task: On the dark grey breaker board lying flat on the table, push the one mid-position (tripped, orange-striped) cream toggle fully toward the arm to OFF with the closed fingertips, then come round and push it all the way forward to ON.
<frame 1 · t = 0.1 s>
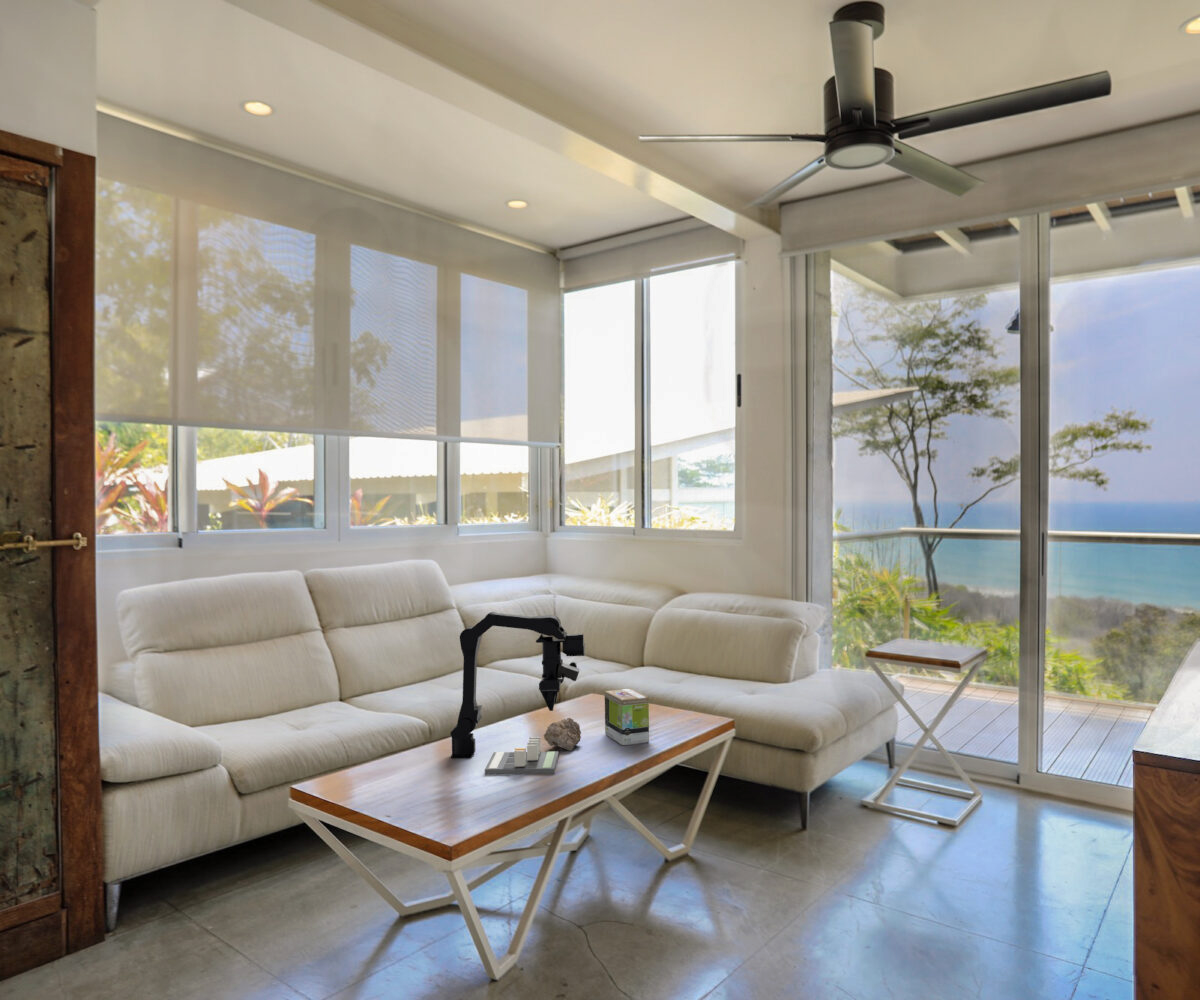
hand: (552, 706, 254), 15 cm above the table, fingers open, 9 cm apart
breaker tripped: (520, 756, 238), point 4 cm above the table, slide at 0.0 cm
coral: (564, 747, 261), on the table
breaker panel: (522, 765, 244), on the table
tea box: (626, 738, 269), on the table
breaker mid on: (532, 750, 244), point 4 cm above the table, slide at 3.0 cm
breaker back on: (534, 745, 249), point 4 cm above the table, slide at 3.0 cm
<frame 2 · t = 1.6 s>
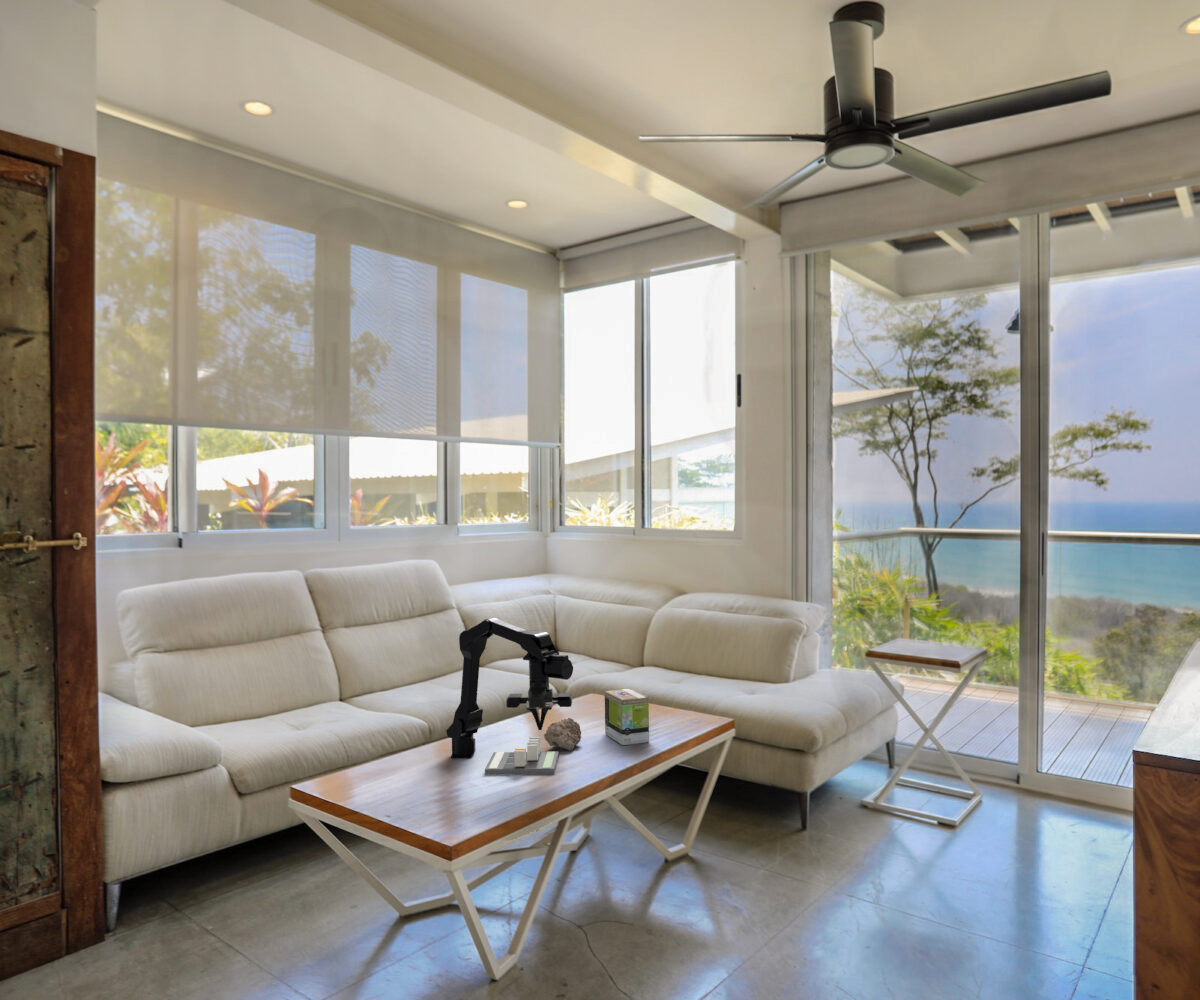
hand: (540, 729, 238), 12 cm above the table, fingers closed
nothing on the table moved.
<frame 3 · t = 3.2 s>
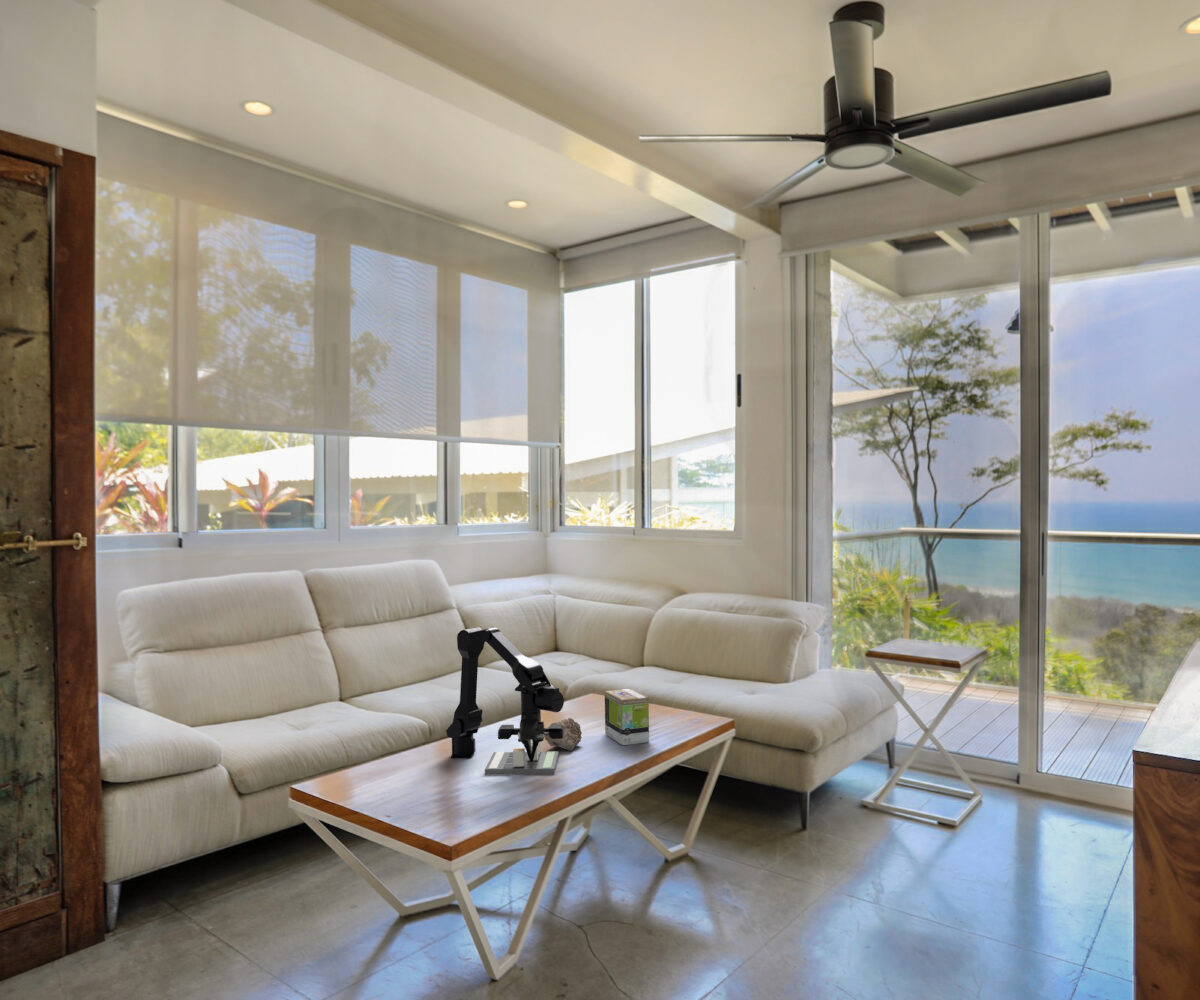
hand: (531, 761, 238), 3 cm above the table, fingers closed
breaker tripped: (519, 756, 238), point 4 cm above the table, slide at -0.4 cm, touching gripper
everything else where it was.
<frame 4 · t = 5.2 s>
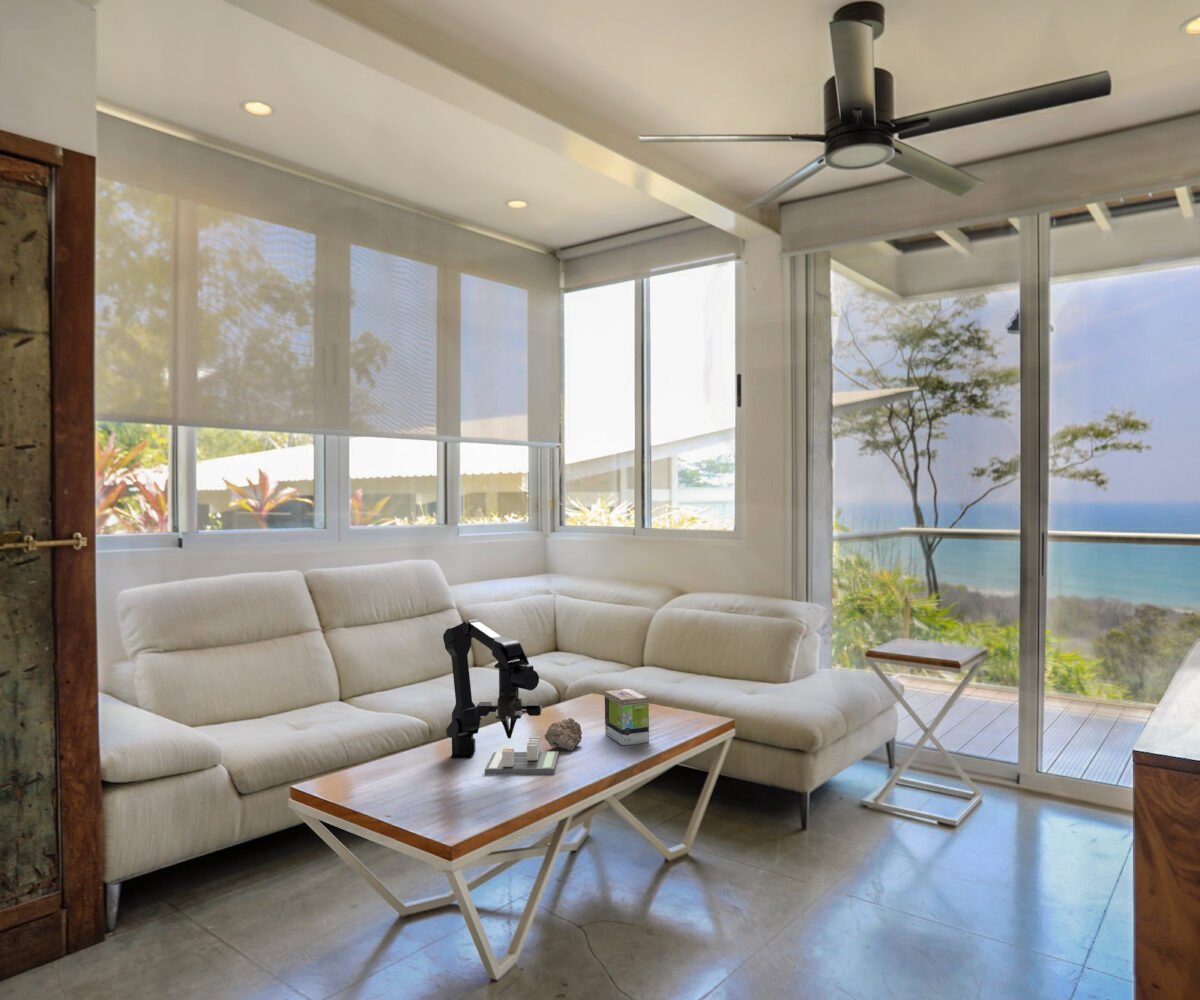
hand: (509, 738, 239), 10 cm above the table, fingers closed
breaker tripped: (508, 757, 239), point 4 cm above the table, slide at -3.5 cm
everything else where it was.
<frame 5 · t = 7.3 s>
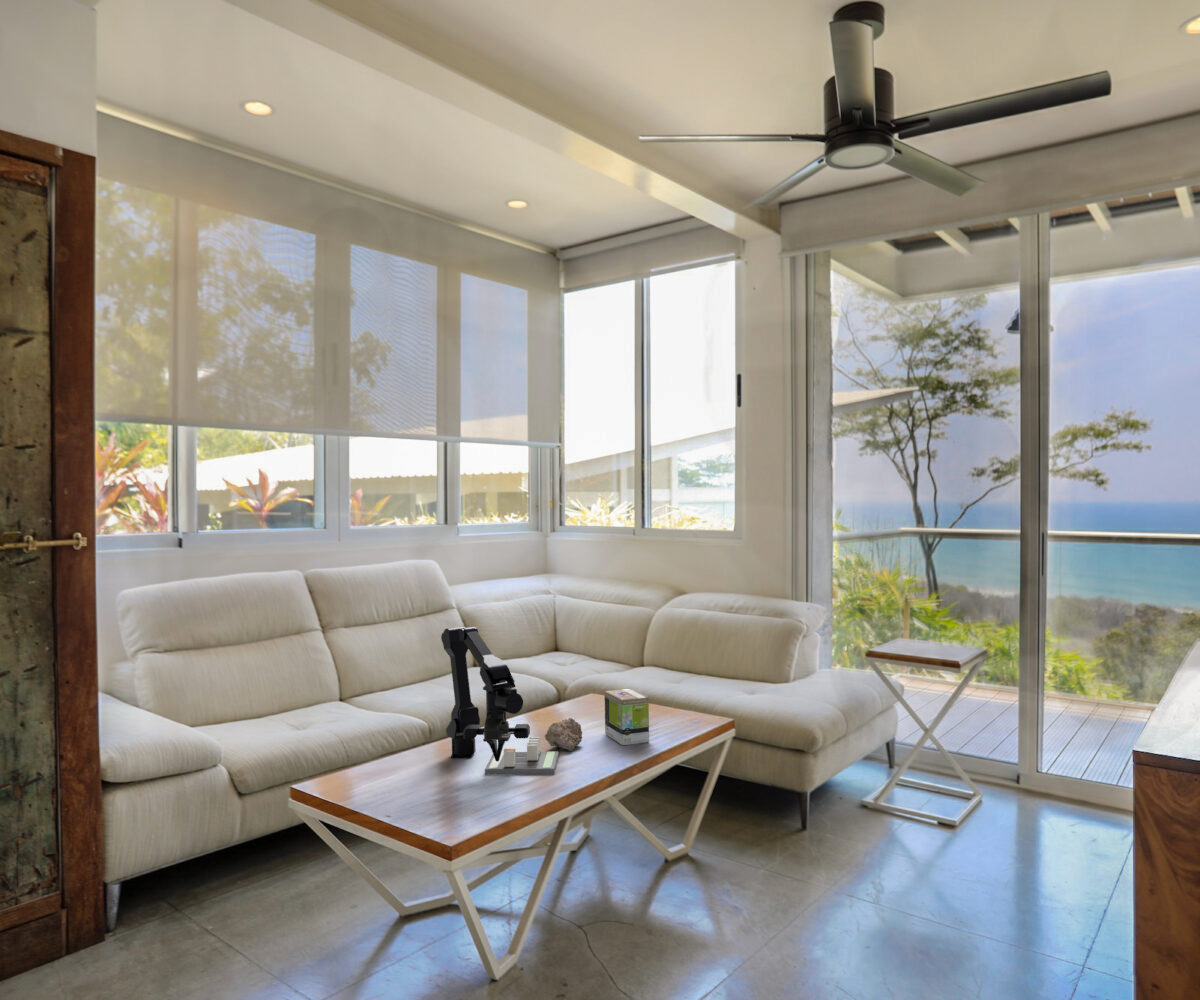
hand: (497, 761, 239), 3 cm above the table, fingers closed
breaker tripped: (509, 756, 239), point 4 cm above the table, slide at -3.1 cm, touching gripper
everything else where it was.
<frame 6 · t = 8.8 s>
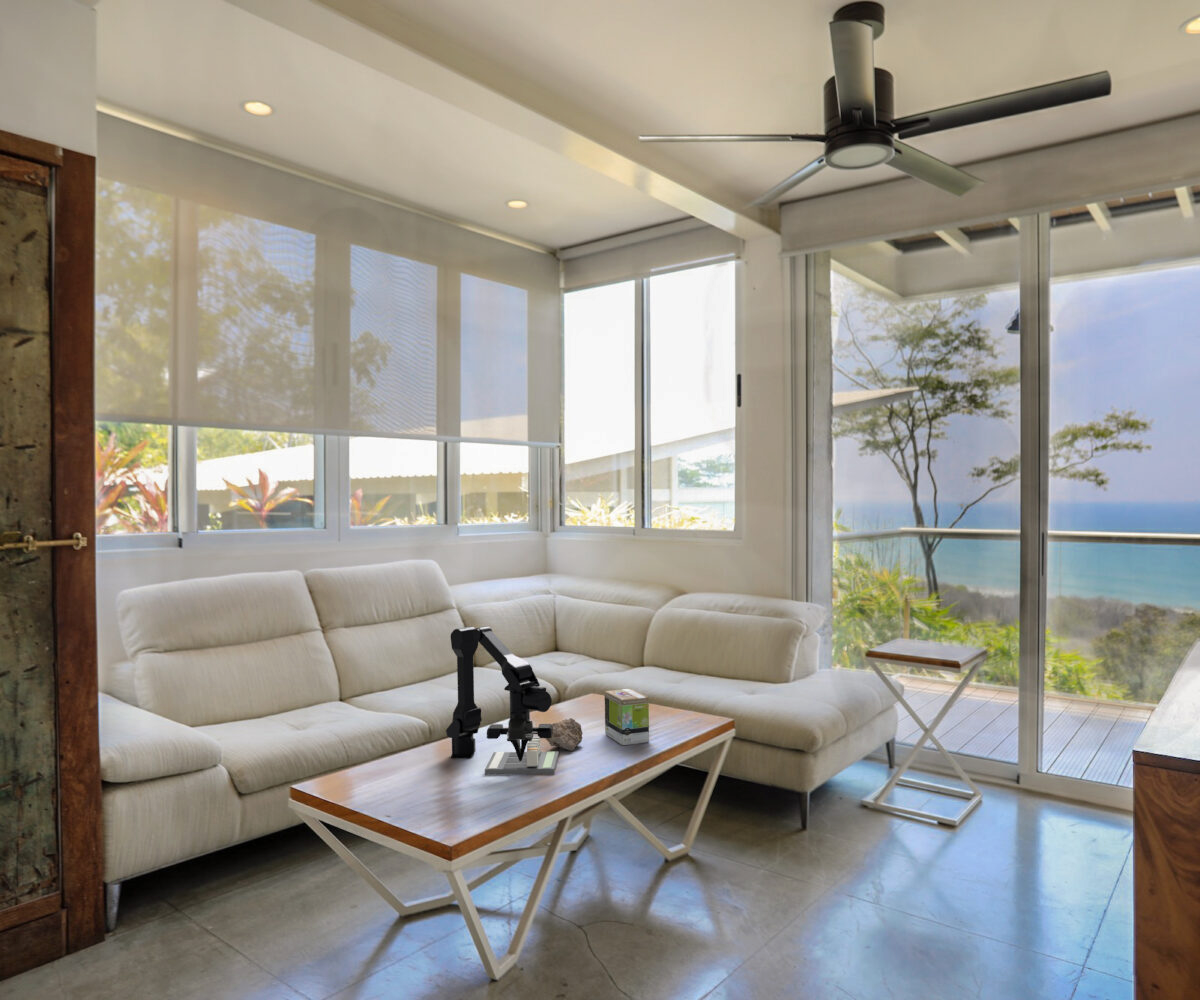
hand: (520, 760, 238), 3 cm above the table, fingers closed
breaker tripped: (532, 756, 238), point 4 cm above the table, slide at 3.6 cm, touching gripper
everything else where it was.
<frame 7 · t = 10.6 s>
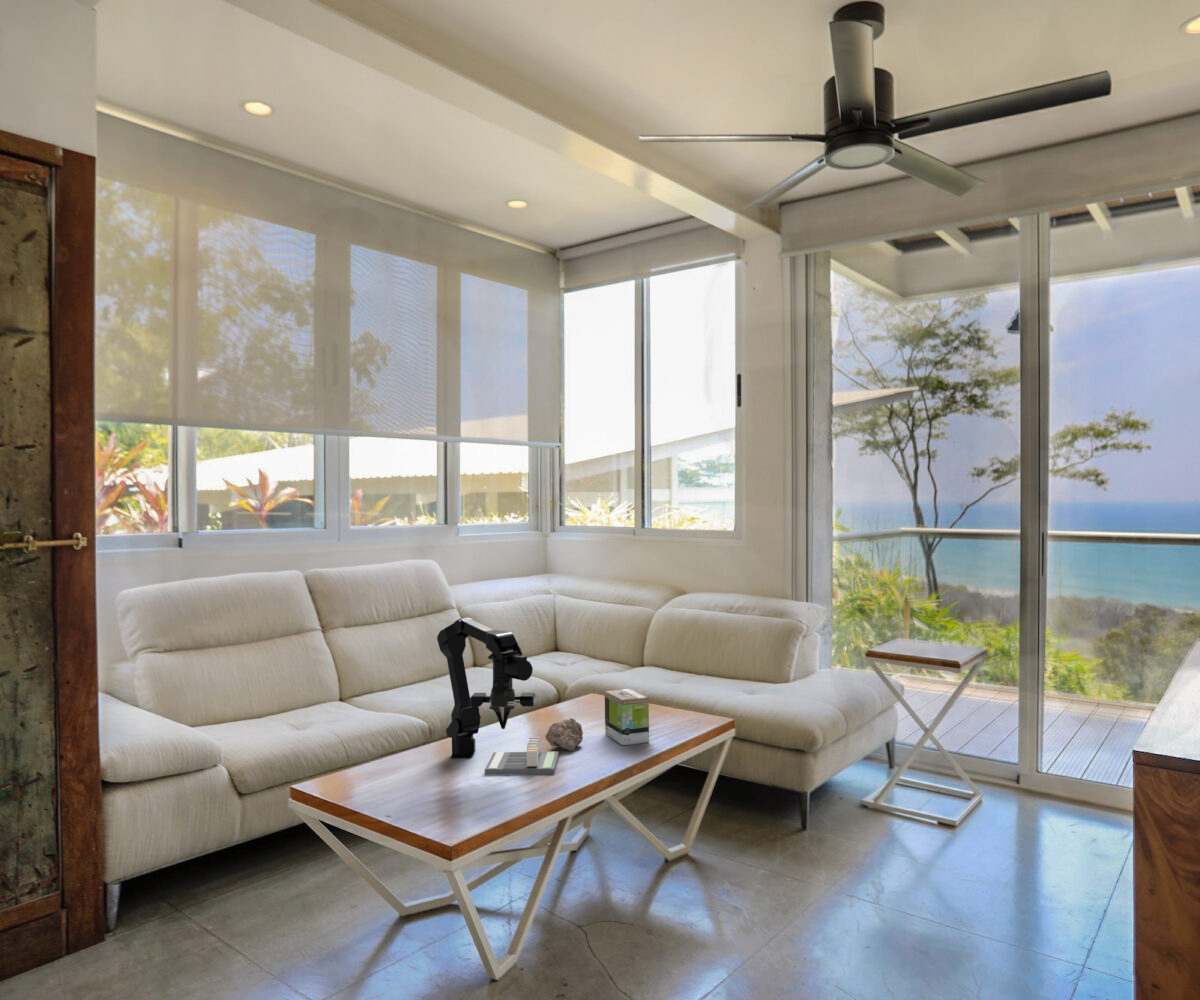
hand: (503, 728, 241), 12 cm above the table, fingers closed
breaker tripped: (532, 756, 238), point 4 cm above the table, slide at 3.5 cm
everything else where it was.
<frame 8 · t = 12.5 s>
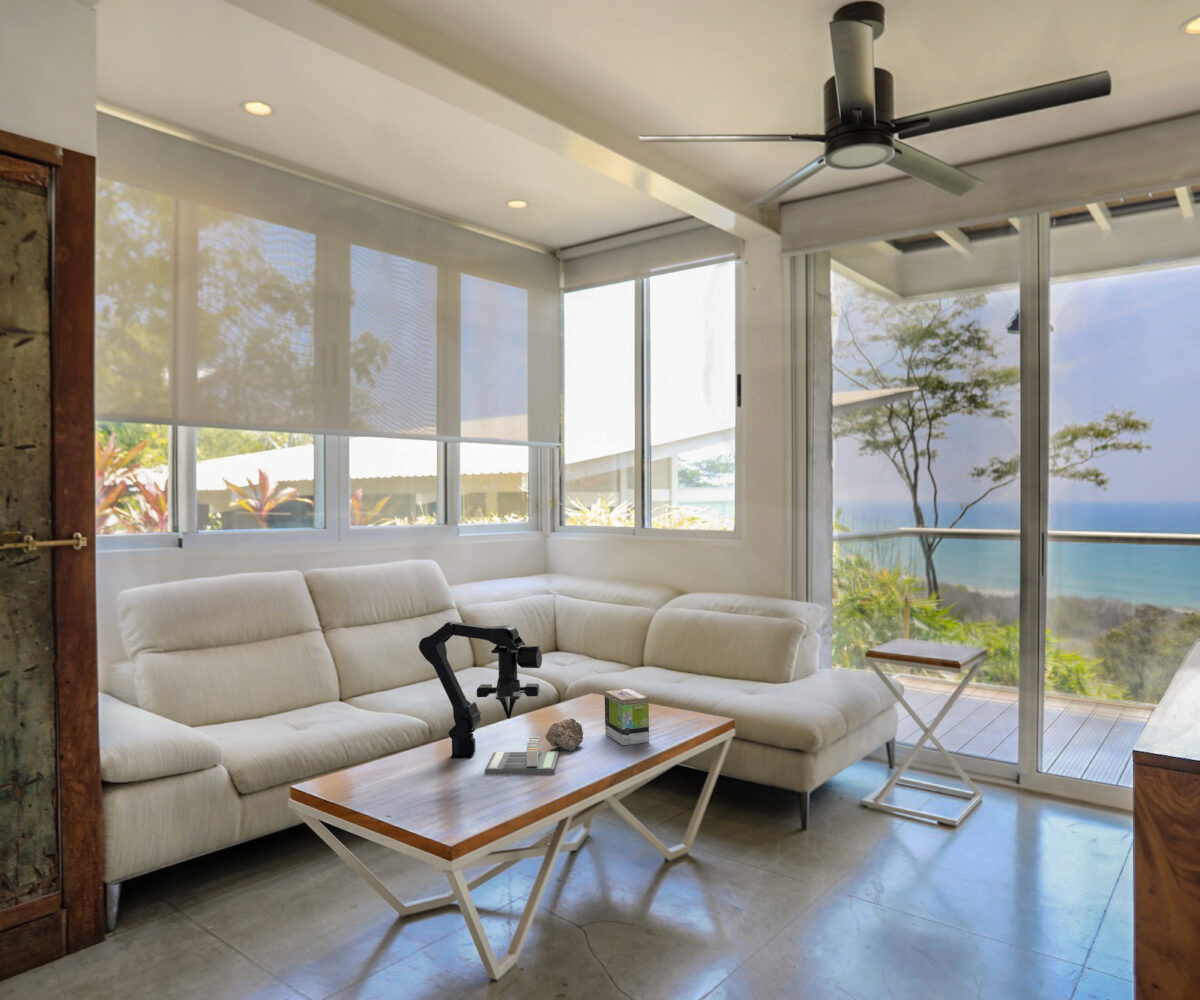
hand: (508, 718, 252), 12 cm above the table, fingers closed
nothing on the table moved.
at the end: breaker tripped slide at 3.5 cm; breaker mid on slide at 3.0 cm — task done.
